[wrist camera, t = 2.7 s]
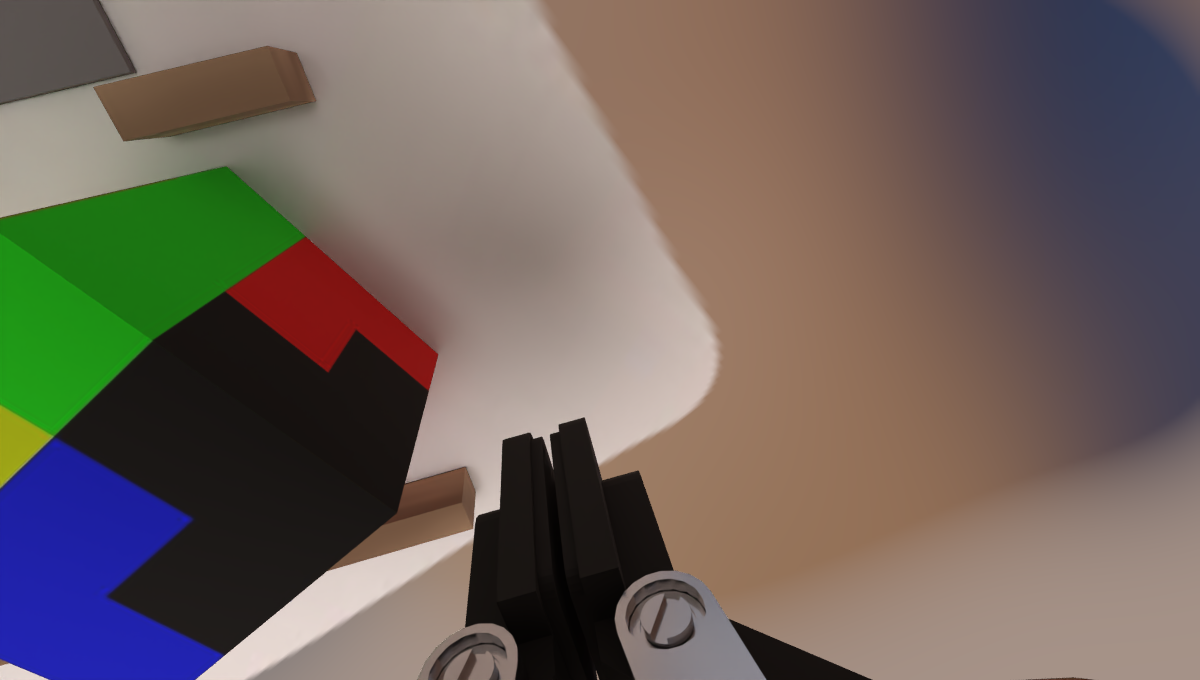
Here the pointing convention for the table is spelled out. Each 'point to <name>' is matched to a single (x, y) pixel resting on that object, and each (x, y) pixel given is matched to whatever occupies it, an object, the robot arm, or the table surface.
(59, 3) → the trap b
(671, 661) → the robot arm
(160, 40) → the table surface
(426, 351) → the puzzle toy
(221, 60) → the trap box
